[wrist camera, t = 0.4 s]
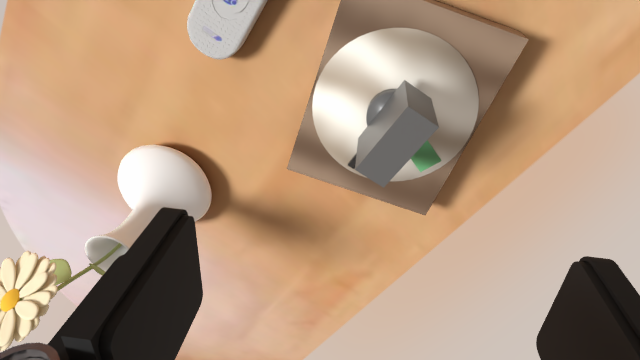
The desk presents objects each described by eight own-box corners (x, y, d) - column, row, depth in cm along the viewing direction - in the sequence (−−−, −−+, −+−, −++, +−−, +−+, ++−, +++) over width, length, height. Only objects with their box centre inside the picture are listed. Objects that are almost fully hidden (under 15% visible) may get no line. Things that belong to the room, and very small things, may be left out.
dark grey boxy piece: (395, 69, 38) (397, 98, 32) (438, 99, 39) (449, 134, 33) (330, 152, 43) (322, 191, 37) (370, 177, 44) (368, 219, 38)
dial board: (351, -31, 37) (349, -27, 34) (519, 31, 38) (529, 40, 35) (291, 155, 48) (286, 169, 45) (423, 199, 49) (425, 216, 46)
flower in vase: (216, 147, 48) (89, 326, 27) (216, 223, 55) (113, 417, 34) (106, 128, 49) (-101, 289, 28) (119, 206, 55) (-43, 385, 34)
